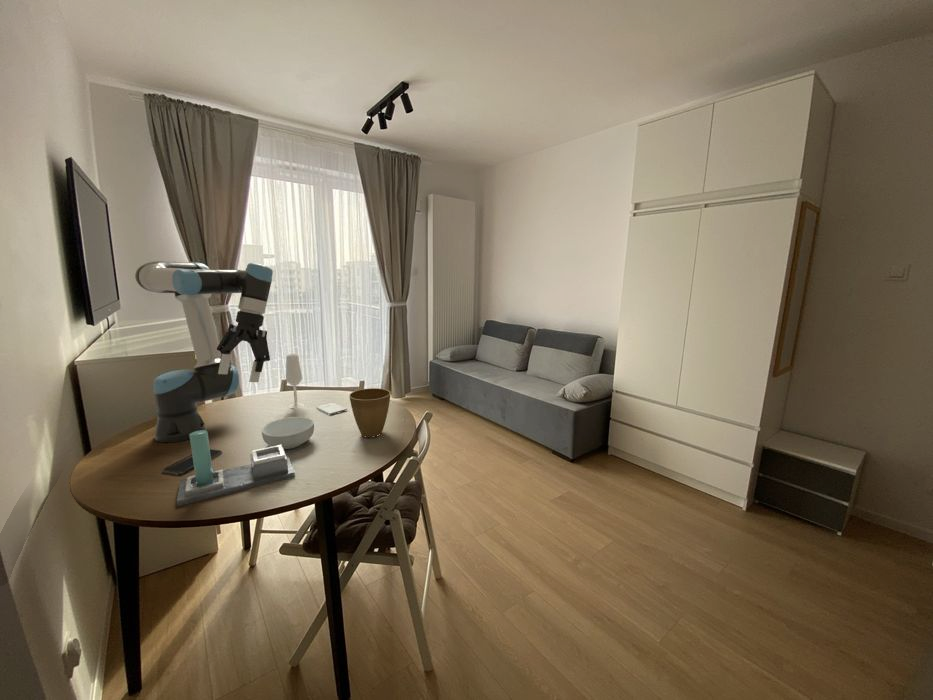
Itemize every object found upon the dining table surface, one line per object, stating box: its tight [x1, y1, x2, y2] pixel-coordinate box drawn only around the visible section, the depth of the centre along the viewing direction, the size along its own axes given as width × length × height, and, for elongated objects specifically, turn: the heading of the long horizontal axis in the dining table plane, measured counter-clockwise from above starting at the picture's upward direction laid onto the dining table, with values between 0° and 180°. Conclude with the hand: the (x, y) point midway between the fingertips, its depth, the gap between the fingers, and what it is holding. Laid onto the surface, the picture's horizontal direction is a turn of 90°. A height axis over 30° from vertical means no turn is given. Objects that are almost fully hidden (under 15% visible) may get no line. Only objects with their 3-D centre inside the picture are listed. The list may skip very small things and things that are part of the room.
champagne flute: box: [285, 353, 305, 409], centre depth 169 cm, size 7×7×24 cm
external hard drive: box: [315, 402, 348, 416], centre depth 168 cm, size 2×8×12 cm
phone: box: [162, 448, 223, 476], centre depth 120 cm, size 8×1×15 cm
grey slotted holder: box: [176, 445, 296, 507], centre depth 109 cm, size 28×12×7 cm, turn 123°
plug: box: [189, 430, 214, 487], centre depth 104 cm, size 4×4×15 cm
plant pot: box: [348, 387, 391, 438], centre depth 142 cm, size 15×15×16 cm
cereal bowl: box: [261, 416, 315, 450], centre depth 133 cm, size 17×17×7 cm
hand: (237, 378), depth 120 cm, fingers open, 13 cm apart
